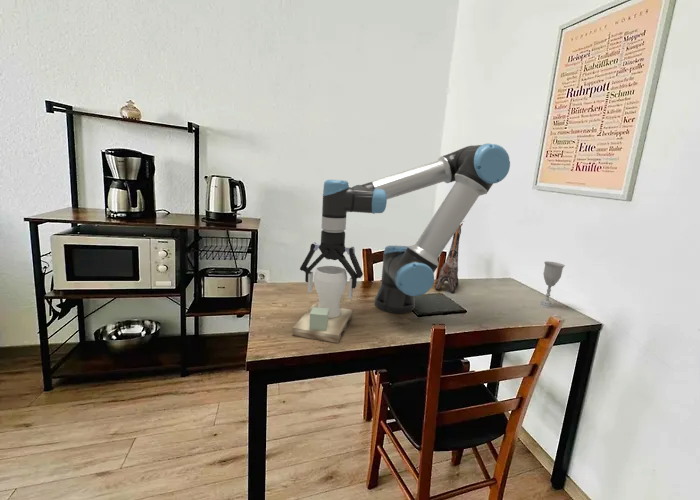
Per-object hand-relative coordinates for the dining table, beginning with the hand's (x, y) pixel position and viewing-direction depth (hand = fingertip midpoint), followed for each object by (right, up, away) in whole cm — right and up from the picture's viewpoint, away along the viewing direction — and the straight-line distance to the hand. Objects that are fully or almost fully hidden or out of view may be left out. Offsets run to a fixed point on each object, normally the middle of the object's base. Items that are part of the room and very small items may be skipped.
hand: (329, 294), depth 115 cm
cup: (-1, -6, +1) cm, 7 cm away
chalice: (+87, -9, +31) cm, 93 cm away
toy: (+51, -2, +46) cm, 68 cm away
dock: (-2, -10, -2) cm, 10 cm away
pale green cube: (-3, -8, -9) cm, 12 cm away
